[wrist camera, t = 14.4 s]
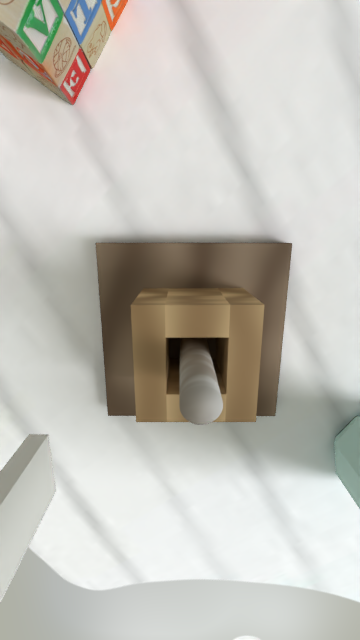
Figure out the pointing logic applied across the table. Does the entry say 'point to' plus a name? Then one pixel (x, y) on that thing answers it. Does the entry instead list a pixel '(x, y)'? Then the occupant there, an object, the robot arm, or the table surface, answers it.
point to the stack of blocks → (57, 39)
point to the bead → (196, 322)
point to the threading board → (188, 274)
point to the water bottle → (349, 458)
